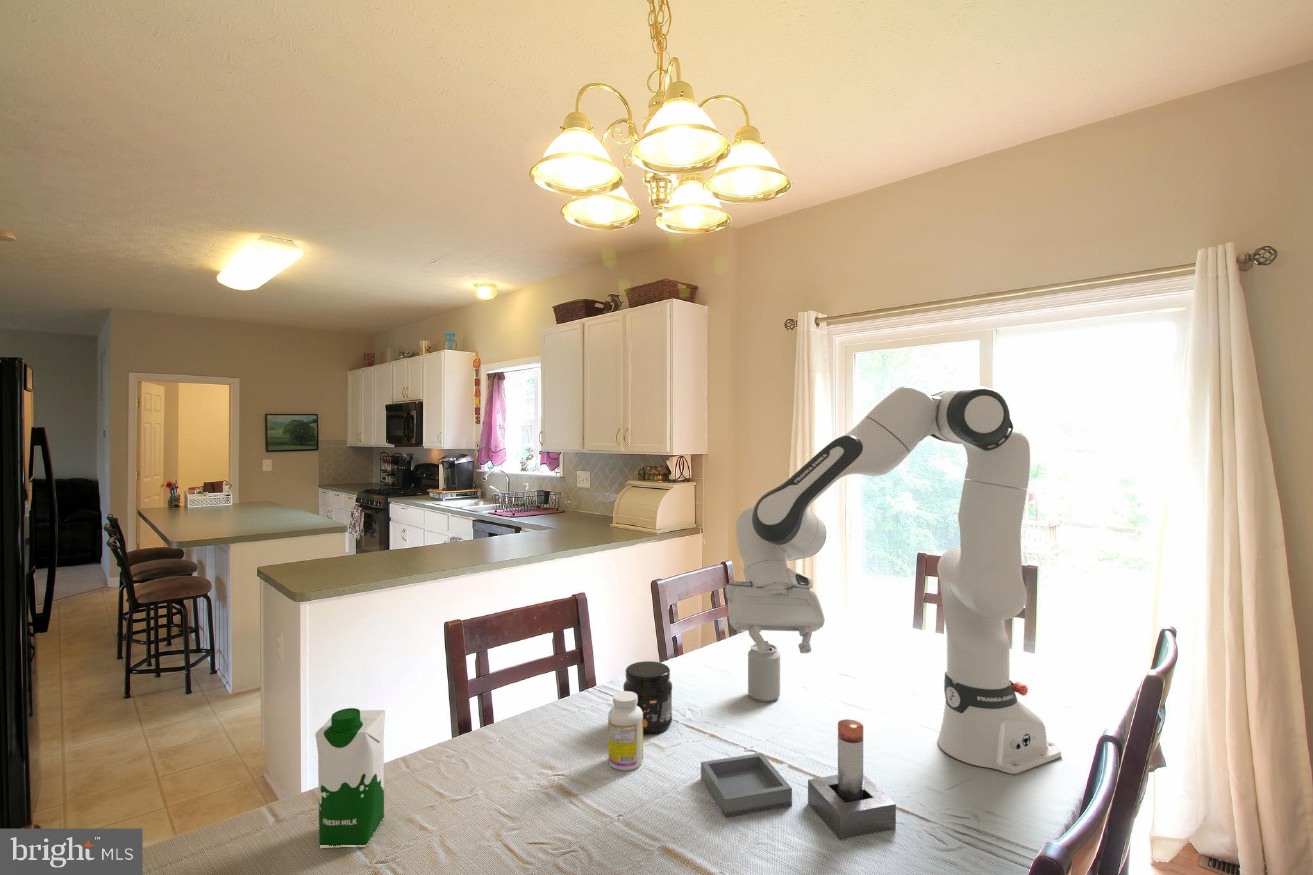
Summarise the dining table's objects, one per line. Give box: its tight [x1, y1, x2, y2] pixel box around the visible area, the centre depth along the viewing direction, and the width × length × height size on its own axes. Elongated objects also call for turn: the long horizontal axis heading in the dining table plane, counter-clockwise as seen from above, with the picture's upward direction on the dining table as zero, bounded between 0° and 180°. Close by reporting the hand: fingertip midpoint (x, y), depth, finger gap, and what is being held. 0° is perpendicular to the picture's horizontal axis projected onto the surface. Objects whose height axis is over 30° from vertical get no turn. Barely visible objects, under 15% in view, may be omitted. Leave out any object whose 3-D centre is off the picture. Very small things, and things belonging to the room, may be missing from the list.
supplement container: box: [622, 660, 673, 735], centre depth 136 cm, size 10×10×12 cm
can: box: [747, 643, 781, 703], centre depth 150 cm, size 8×8×12 cm
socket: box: [807, 773, 897, 841], centre depth 104 cm, size 10×10×4 cm
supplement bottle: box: [607, 690, 644, 771], centre depth 121 cm, size 7×7×13 cm
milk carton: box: [314, 707, 386, 846], centre depth 100 cm, size 9×9×20 cm
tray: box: [700, 752, 793, 818], centre depth 111 cm, size 12×12×3 cm
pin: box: [837, 718, 864, 803], centre depth 104 cm, size 4×4×15 cm
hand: (785, 652), depth 119 cm, fingers open, 8 cm apart
